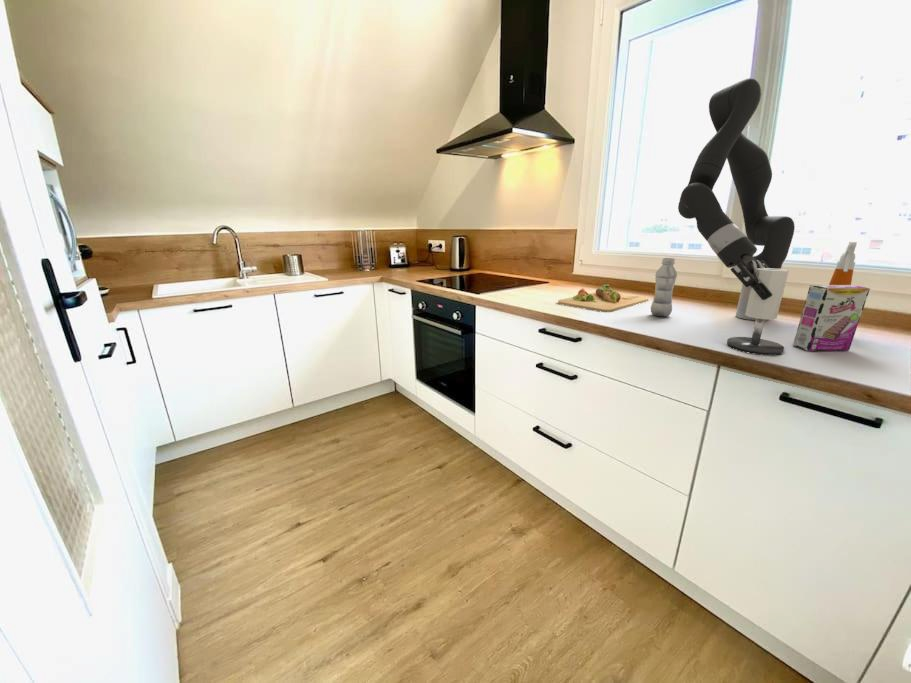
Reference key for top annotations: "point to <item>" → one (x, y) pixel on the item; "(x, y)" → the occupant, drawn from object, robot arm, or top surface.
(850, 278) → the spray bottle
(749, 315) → the paper towel roll
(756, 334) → the roll holder
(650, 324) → the top surface
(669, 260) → the plastic bottle
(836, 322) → the candy bar box
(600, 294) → the cutting board
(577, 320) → the top surface
